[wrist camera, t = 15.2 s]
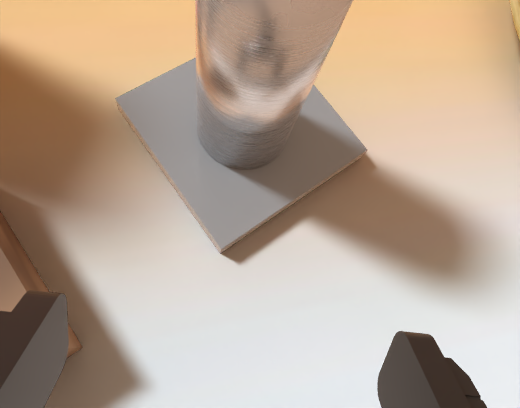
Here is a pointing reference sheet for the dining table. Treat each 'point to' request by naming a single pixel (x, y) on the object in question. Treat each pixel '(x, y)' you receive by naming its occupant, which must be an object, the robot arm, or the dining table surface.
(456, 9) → the dining table surface
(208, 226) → the slate tile
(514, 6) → the shape sorting clock
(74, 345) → the pocket block
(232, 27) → the metal cylinder
